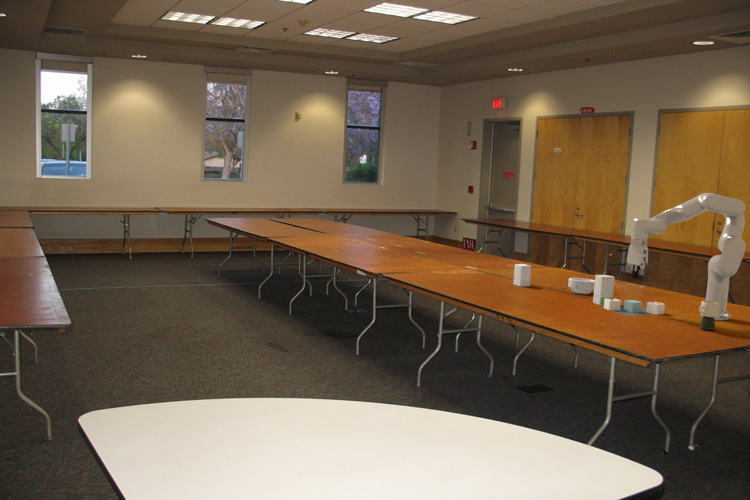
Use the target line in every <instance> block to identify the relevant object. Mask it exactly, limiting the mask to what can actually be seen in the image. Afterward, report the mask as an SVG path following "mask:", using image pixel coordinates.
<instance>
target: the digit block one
mask: <svg viewBox="0 0 750 500" xmlns="http://www.w3.org/2000/svg"><path fill="white" fill-rule="evenodd" d="M665 307H666V303H662V302H658V301H649V302H648V301H647V302H646V307H645V309H646V312H648V313H652V314H656V315H664V314H665Z"/></svg>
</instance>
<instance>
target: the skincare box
mask: <svg viewBox="0 0 750 500" xmlns="http://www.w3.org/2000/svg"><path fill="white" fill-rule="evenodd" d="M594 276H595V277H594V280H595V286H594V290H593V298H592V303H593V304H595V305H598V306H604V299H605V298H614V290H615V279H616V278H615V276H613V275H606V274H595V275H594Z"/></svg>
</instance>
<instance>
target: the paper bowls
mask: <svg viewBox="0 0 750 500" xmlns="http://www.w3.org/2000/svg"><path fill="white" fill-rule="evenodd" d="M567 286H568V288H570V289H571V291H572V293H574V294H578V295H589V294H591V293H592V291H594V286H595V279H589V278H585V277H584V278H582V277H569V278H568V285H567Z"/></svg>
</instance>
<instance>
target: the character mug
mask: <svg viewBox="0 0 750 500" xmlns="http://www.w3.org/2000/svg"><path fill="white" fill-rule="evenodd" d="M719 309H720V306H719V303H717V302H713V301H706V300H702V301H701V303H700V306H699V308H698V310H699V311H698V313H699V314H700V316H701V315H703V317H702V316H701V321H700V325H699V328H700V329H703V330H705V331H706V330H708V331H715V330H716V320H715V319H714V317H717V315H718V312H719Z"/></svg>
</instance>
